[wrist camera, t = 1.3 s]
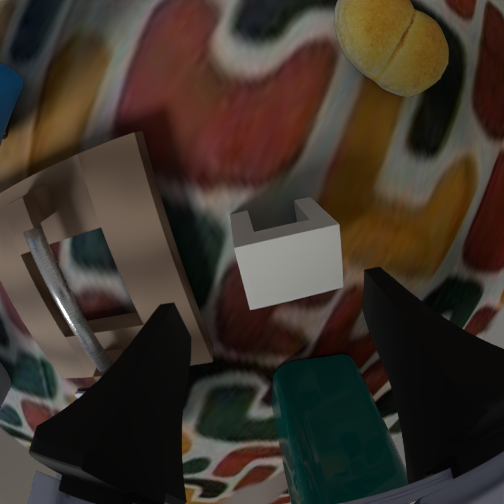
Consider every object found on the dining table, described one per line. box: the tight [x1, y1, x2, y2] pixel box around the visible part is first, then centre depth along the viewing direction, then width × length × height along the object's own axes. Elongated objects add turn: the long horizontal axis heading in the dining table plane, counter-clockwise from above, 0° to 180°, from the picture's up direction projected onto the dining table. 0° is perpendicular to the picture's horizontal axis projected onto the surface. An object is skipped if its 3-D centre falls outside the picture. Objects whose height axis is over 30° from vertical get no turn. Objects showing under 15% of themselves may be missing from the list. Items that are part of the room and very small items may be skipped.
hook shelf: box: [0, 131, 213, 382], centre depth 19 cm, size 18×16×5 cm
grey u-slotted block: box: [230, 197, 343, 310], centre depth 18 cm, size 4×6×6 cm
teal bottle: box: [272, 354, 410, 504], centre depth 19 cm, size 10×8×22 cm
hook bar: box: [23, 223, 113, 373], centre depth 17 cm, size 14×1×1 cm, turn 11°
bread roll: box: [334, 0, 449, 97], centre depth 14 cm, size 8×9×4 cm
